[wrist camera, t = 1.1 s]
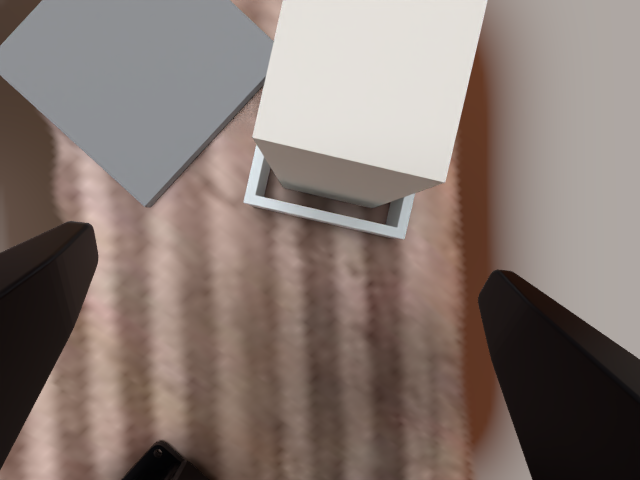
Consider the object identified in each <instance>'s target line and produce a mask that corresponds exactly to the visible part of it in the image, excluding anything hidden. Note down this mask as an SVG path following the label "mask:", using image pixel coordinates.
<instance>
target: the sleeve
mask: <svg viewBox="0 0 640 480" xmlns="http://www.w3.org/2000/svg"><path fill="white" fill-rule="evenodd" d="M270 168H271V167H270V165H269V164H268V162H267V161H266V159H265V157H264V156H263V154H262V152H261V151H260V149H259V148H258V146H257V145H256V149H255V153H254V158H253V162H252V167H251V171H250V176H249V180H248V185H247V189H246V194H245V198H244V203H246V204H248V205H251V206H253V207H257V208H261V209H266V210H270V211H274V212H279V213H283V214H288V215H292V216H296V217H301V218H305V219H309V220H314V221H318V222H323V223H327V224H331V225H336V226H340V227H344V228H349V229H353V230H358V231H362V232H366V233H371V234H375V235H379V236H384V237H388V238H395V239H405V235H406V230H407V226H408V222H409V217H410V213H411V209H412V205H413V200H414V196H415V193H414V194H411V195H409V196H406V197H403V198H400V199H397V200H394V201H392V202H391V203H390V207H389V211H388V216H387V220H386V224H385V225H383V224H379V223H374V222H370V221H366V220H361V219H357V218H353V217H348V216H344V215H340V214H335V213H331V212H326V211H322V210H318V209H313V208H309V207H305V206H300V205H296V204H292V203H287V202H283V201H279V200H274V199H270V198H265V197H264V195H265V190H266V186H267V181H268V177H269V172H270Z"/></svg>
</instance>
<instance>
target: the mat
mask: <svg viewBox="0 0 640 480" xmlns="http://www.w3.org/2000/svg"><path fill="white" fill-rule="evenodd" d="M273 43H274V41H273V40H271V39H270V38H269V37H268V36H267V35H266V34H265V33H264V32H263V31H262V30H261V29H260V28H259V27H258V26H257V25H256V24H255V23H253V22H252V21H251V20H250V19H249V18H248V17H247V16H246V15H245V14H244V13H243V12H242V11H241V10H240V9H239V8H238V7H237V6H235V5H234V4H233V3H232V2H231V1H230V0H42V1H41V2H40V3H39V5H38V6H37V7H36V8H35V9H34V10H33V11H32V12H31V13H30V14H29V16H27V17H26V19H25V20H24V21H23V22H22V23H21V24H20V25H19V26H18V27H17V28H16V29H15V30H14V32H13V33H12V34H11V35H10V36H9V37H8V38H7V39H6V40H5V41H4V42H3V44H2V45H1V46H0V75H1V76H2V77H3V78H4V79H5V80H6V81H7V82H8V83H10V84H11V85H12V86H13V87H14V88H15V89H16V90H17V91H19V93H21V94H22V95H23V96H24V97H25V98H26V99H27V100H28V101H29V102H30V103H31V104H33V105H34V106H35V107H36V108H37V109H38V110H39V111H40V112H41V113H42V114H43V115H45V116H46V117H47V118H48V119H49V120H50V121H51V122H52V123H53V124H54V125H56V126H57V127H58V128H59V129H60V130H61V131H62V132H63V133H64V134H65V135H67V136H68V137H69V138H70V139H71V140H72V141H73V142H74V143H75V144H76V145H77V146H79V147H80V148H81V149H82V150H83V151H84V152H85V153H86V154H87V155H88V156H90V157H91V158H92V159H93V160H94V161H95V162H96V163H97V164H98V165H99V166H101V167H102V168H103V169H104V170H105V171H106V172H107V173H108V174H109V175H110V176H112V177H113V178H114V179H115V180H116V181H117V182H118V183H119V184H120V185H121V186H122V187H124V188H125V189H126V190H127V191H128V192H129V193H130V194H131V195H132V196H133V197H135V198H136V199H137V200H138V201H139V202H140V203H141V204H142V205H143V206H144V207H151V206H152V205H153V204H154V203H155V202H156V200H157V199H158V198H159V197H160V196H161V195H162V194H163V193H164V192H165V191H166V190H167V189H168V188H169V186H170V185H171V184H172V183H173V182H174V181H175V180H176V179H177V178H178V177H179V176H180V175H181V174H182V172H183V171H184V170H185V169H186V168H187V167H188V166H189V165H190V164H191V163H192V162H193V161H194V159H195V158H196V157H197V156H198V155H199V154H200V153H201V152H202V151H203V150H204V149H205V148H206V147H207V145H208V144H209V143H210V142H211V141H212V140H213V139H214V138H215V137H216V136H217V135H218V134H219V133H220V131H221V130H222V129H223V128H224V127H225V126H226V125H227V124H228V123H229V122H230V121H231V120H232V118H233V117H234V116H235V115H236V114H237V113H238V112H239V111H240V110H241V109H242V108H243V107H244V106H245V104H246V103H247V102H248V101H249V100H250V99H251V98H252V97H253V96H254V95H255V94H256V93H257V92H258V90H259V89H260V88H261V87H262V86H263V85H264V83H265V78H266V74H267V69H268V65H269V61H270V56H271V52H272V47H273Z"/></svg>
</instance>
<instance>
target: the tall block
mask: <svg viewBox="0 0 640 480" xmlns="http://www.w3.org/2000/svg"><path fill="white" fill-rule="evenodd" d="M486 5H487V0H283V2H282V7H281V11H280V16H279V20H278V25H277V29H276V34H275V38H274V43H273V47H272V52H271V56H270V61H269V65H268V69H267V74H266V78H265V83H264V87H263V92H262V96H261V101H260V105H259V110H258V114H257V119H256V123H255V128H254V132H253V137H252V138H253V139H254V141H255V143H256V144H257V146H258V148H259V149H260V151H261V152H262V154H263V156H264V157H265V159H266V161H267V162H268V164H269V165H270V167H271V169H272V170H273V172H274V174H275V175H276V177H277V179H278V180H279V182H280V183H281V185H282V187H283V188H286V189H290V190H295V191H299V192H303V193H308V194H312V195H316V196H321V197H325V198H329V199H334V200H338V201H342V202H347V203H351V204H355V205H360V206H364V207H368V208H375V207H377V206H380V205H383V204H386V203H389V202H392V201H394V200H397V199H400V198H403V197H406V196H409V195H411V194H414V193H417V192H420V191H423V190H426V189H428V188H431V187H434V186H437V185H440V184H442V183H445V181H446V177H447V172H448V168H449V164H450V159H451V155H452V151H453V147H454V142H455V138H456V134H457V129H458V125H459V121H460V116H461V112H462V108H463V104H464V99H465V95H466V91H467V86H468V82H469V78H470V73H471V69H472V65H473V60H474V56H475V52H476V47H477V43H478V39H479V35H480V30H481V26H482V22H483V18H484V13H485V9H486Z"/></svg>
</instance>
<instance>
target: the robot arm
mask: <svg viewBox="0 0 640 480" xmlns="http://www.w3.org/2000/svg"><path fill="white" fill-rule="evenodd" d="M97 264H98V250H97V245H96V239H95V233H94V229H93V227H92V225H91V224H89V223H83V222H74V221H69V222H66V223H64V224H62V225H59V226H57V227H55V228H53V229H51V230H49V231H47V232H44V233H42V234H40V235H38V236H36V237H33V238H31V239H29V240H27V241H25V242H23V243H20V244H18V245H16V246H14V247H12V248H10V249H7V250H5V251H3V252H1V253H0V469H1V468H2V466H3V464H4V462H5V460H6V458H7V456H8V454H9V452H10V450H11V448H12V446H13V444H14V443H15V441H16V439H17V437H18V435H19V433H20V431H21V429H22V427H23V425H24V423H25V421H26V419H27V418H28V416H29V414H30V412H31V410H32V408H33V406H34V404H35V402H36V400H37V398H38V396H39V394H40V393H41V391H42V389H43V387H44V385H45V383H46V381H47V379H48V377H49V375H50V373H51V371H52V369H53V368H54V366H55V364H56V362H57V360H58V358H59V356H60V354H61V352H62V350H63V348H64V346H65V344H66V343H67V341H68V339H69V337H70V335H71V332H72V330H73V328H74V326H75V323H76V321H77V319H78V316H79V313H80V310H81V308H82V305H83V302H84V300H85V297H86V294H87V292H88V289H89V286H90V283H91V281H92V278H93V275H94V273H95V270H96V267H97ZM478 303H479V309H480V313H481V318H482V322H483V326H484V331H485V335H486V339H487V344H488V348H489V352H490V356H491V360H492V363H493V366H494V369H495V372H496V375H497V378H498V381H499V384H500V387H501V390H502V393H503V396H504V399H505V401H506V404H507V407H508V410H509V413H510V416H511V419H512V422H513V424H514V428H515V431H516V433H517V436H518V439H519V442H520V445H521V448H522V451H523V454H524V457H525V460H526V462H527V465H528V468H529V471H530V474H531V477H532V480H640V359H638V358H637V357H635V356H634V355H633V354H631V353H630V352H628V351H627V350H625V349H624V348H622V347H621V346H619V345H618V344H617V343H615V342H614V341H612V340H611V339H609V338H608V337H607V336H605V335H604V334H602V333H601V332H599V331H598V330H596V329H595V328H594V327H592V326H590V325H589V324H588V323H586V322H585V321H583V320H582V319H580V318H579V317H577V316H576V315H575V314H573V313H572V312H570V311H569V310H568V309H566V308H565V307H563V306H562V305H560V304H559V303H557V302H556V301H554V300H553V299H552V298H550V297H549V296H547V295H546V294H544V293H543V292H541V291H540V290H539V289H537V288H536V287H534V286H533V285H531V284H530V283H528V282H527V281H526V280H524V279H523V278H521V277H520V276H518V275H517V274H515V273H514V272H512V271H506V270H495V271H493V272H492V273H491V275H490V276H489V278H488V280H487V281H486V283H485V285H484V287H483V289H482V290H481V292H480V294H479V297H478ZM156 449H160V450H161V451H162V454H159V453H157V451H156ZM121 480H209V479H208V478H207V477H206V476H205V475H203V474H202V473H201V472H200V471H199V470H198V469H197V468H196V467H194V466H193V465H192V464H191V463H190V462H189V461H185V460H184V459H183V458H182V457H181V456H180V455H179V454H177V453H176V452H175V451H174V450H173V449H172V448H171V447H170V446H168V445H167V444H166V443H164V442H161V441H159V442H156V443H155V444H154V445H153V446H152V447H151V448H150V449H149V450H148V451H147V452H146V453H145V454H144V456H143V457H142V458H141V459H140V460H139V461H138V462H137V463H136V464H135V465H134V466H133V467H132V468H131V470H130V471H129V472H128V473H127V474H126V475H125V476H124V477H123V478H122V479H121Z"/></svg>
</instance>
